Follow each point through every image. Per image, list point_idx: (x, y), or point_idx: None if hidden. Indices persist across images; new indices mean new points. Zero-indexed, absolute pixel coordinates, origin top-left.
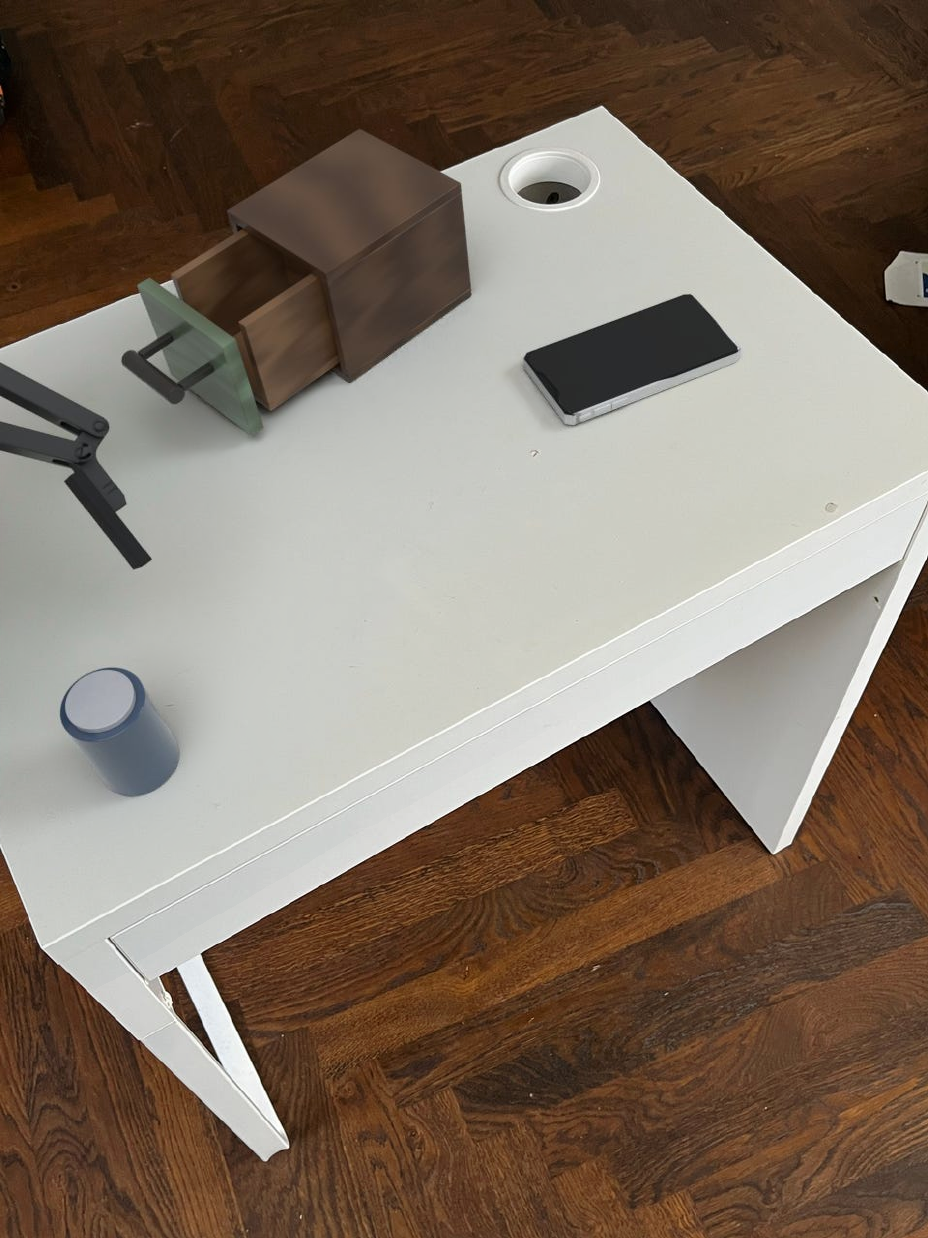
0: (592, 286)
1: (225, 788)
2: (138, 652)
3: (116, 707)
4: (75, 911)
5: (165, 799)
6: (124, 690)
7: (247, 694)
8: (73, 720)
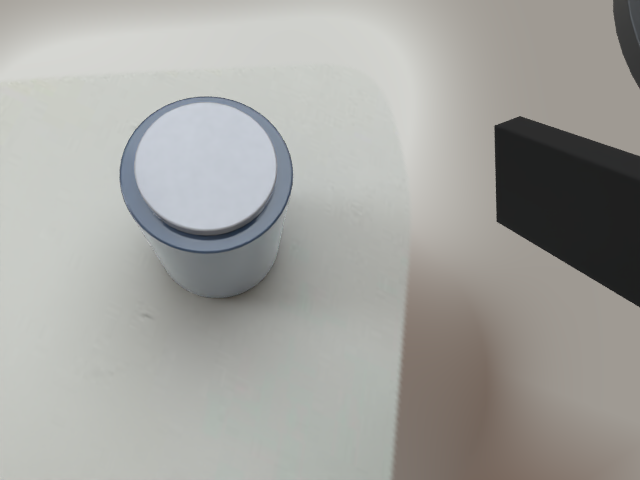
0: None
1: (115, 145)
2: (166, 450)
3: (179, 131)
4: (345, 77)
5: None
6: (152, 159)
7: (19, 282)
8: (265, 140)
